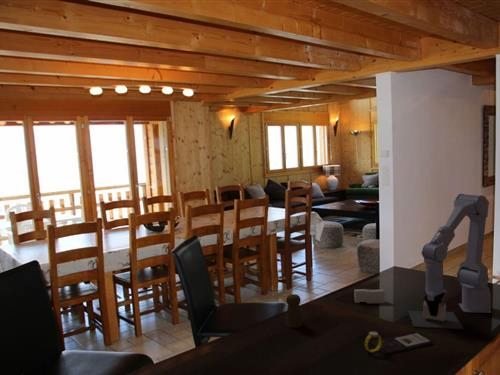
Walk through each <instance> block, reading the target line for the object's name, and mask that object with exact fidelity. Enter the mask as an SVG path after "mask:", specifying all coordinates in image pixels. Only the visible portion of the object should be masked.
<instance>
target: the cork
mask: <svg viewBox="0 0 500 375" xmlns="http://www.w3.org/2000/svg"><path fill="white" fill-rule="evenodd" d="M285 300H286V304H287V311H286V323H285V325H286V326H287V327H288V328H292V329H293V328H295V329H297V328H301V327H302V326H303V325H304V324H303V319H302V318H303V317H302V313H301V308H300V304H301V301H302V300H301V297H300V295H298V294H295V293H294V294H292V293H291V294H289V295H287V296H286V299H285Z"/></svg>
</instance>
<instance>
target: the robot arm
mask: <svg viewBox="0 0 500 375" xmlns="http://www.w3.org/2000/svg"><path fill="white" fill-rule="evenodd" d="M489 206H490V201H489V200H488V199H487V197H486V196H485V195H479V194H478V195H476V194H464V193H459V194H457V196H456V197H455V200H453V207H454V208H453V209H452V212H451V214H450V215H449V218H447V220H446V223H445V224H444V225H443V226H440V227H439V228H438V230H437V231H436V233H435V234H434V236H433V237H432V239H431V241H429V242H427V243H426V244H424V245H423V247H422V249H421V255H422V257H423V262H424V263H425V288H424V290H425V292H426V294H425V295H424V296H423V297H424V302H425V301H426V303H427V305H428V308H429V312H430V316H437V314H438V307H439V304H440V303H442V300H443V298H444V295H445V294H446V293H448V289H447V288H444V260H445V259H446V258H447V255H448V251H449V246H450V244H451V242H452V241H453V240H454V238H455V236H456V233H455V230H456V229H457V227H458V226H460V224H461V223H462V221H463V220H464V219H465V217H468V219H469V226H468V237H467V245H466V254H465V260H463V261H462V262H460V263H459V266H458V270H457V272H456V280H457V281H458V282H459V285H460V286H461V303H458V305H459V307H460V308H461V310H462V311H463V313H481V314H482V313H483V314H491V313H492V300H491V299H492V298H491V297H492V295H491V290H490V288H489V286H488V284H489V280H490V277H489V269H488V267H487V266H486V265H485V264H484V263H483V262H482V260H483V250H484V240H485V230H486V225H487V224H486V223H487V218H488V215H489Z"/></svg>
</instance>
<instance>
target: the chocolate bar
mask: <svg viewBox="0 0 500 375" xmlns="http://www.w3.org/2000/svg"><path fill="white" fill-rule="evenodd" d="M378 342H379V339H375V340H374V339H373V340H371V341H370V340H369V342H368V345H370V344H371V345H370V346H372V347H373V349H375V348H376V347H377V346H378ZM431 345H434V342H432V341H431V340H430V339H428V338H426V337H424V336H422V335H421V334H419V333H417V332H415V331H412V332H407V333H402V334H398V335H397V334H396V335H392V336H390V337H385V338H384V337H383V338H382V346H381V348H380V349H379V351H378V352H380V353H381V354H383V355H384V356H389V355H393V354H397V352H398V353H401V352H405V351H406V350H407V351H409V350H414V348H415V349H419V347H420V348H423V347H428V346H431Z"/></svg>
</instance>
